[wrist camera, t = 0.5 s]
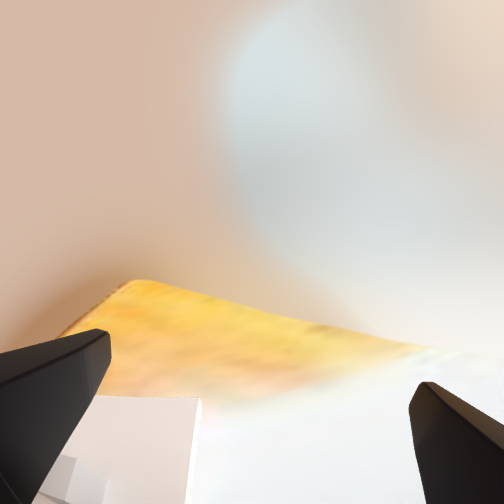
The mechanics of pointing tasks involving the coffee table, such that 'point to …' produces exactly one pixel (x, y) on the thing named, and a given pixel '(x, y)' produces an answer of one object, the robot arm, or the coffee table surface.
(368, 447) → the coffee table surface
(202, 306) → the coffee table surface
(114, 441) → the post plate
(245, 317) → the coffee table surface
